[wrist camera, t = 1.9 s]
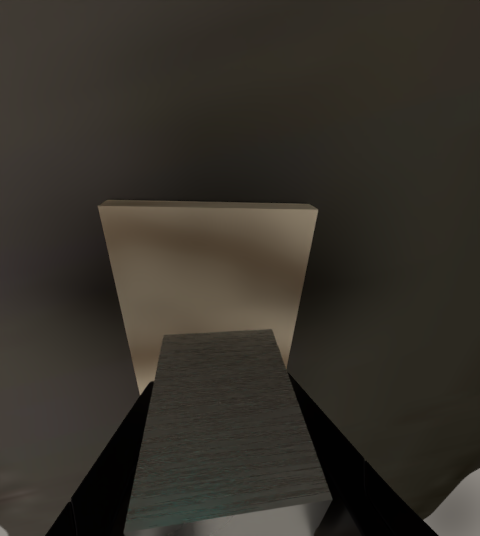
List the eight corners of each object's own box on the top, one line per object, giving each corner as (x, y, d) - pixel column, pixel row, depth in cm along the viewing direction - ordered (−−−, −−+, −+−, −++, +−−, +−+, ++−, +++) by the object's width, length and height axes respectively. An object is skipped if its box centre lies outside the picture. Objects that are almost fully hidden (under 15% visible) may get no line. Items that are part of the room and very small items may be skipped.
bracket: (269, 424, 22) (314, 625, 13) (155, 436, 21) (117, 671, 12) (309, 203, 13) (569, 368, 4) (107, 199, 11) (-275, 448, 2)
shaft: (247, 493, 16) (264, 629, 11) (185, 503, 15) (177, 649, 11) (271, 329, 9) (332, 499, 5) (163, 334, 9) (123, 532, 4)
